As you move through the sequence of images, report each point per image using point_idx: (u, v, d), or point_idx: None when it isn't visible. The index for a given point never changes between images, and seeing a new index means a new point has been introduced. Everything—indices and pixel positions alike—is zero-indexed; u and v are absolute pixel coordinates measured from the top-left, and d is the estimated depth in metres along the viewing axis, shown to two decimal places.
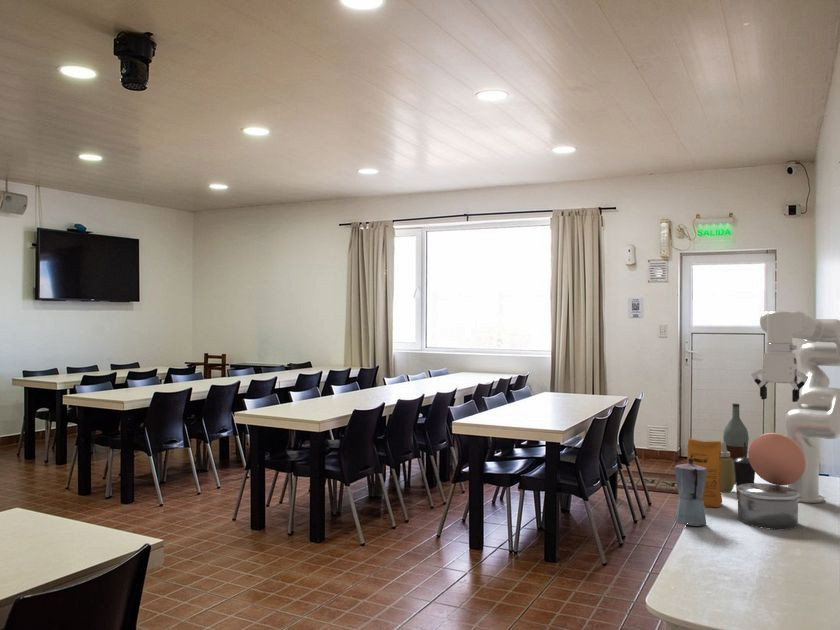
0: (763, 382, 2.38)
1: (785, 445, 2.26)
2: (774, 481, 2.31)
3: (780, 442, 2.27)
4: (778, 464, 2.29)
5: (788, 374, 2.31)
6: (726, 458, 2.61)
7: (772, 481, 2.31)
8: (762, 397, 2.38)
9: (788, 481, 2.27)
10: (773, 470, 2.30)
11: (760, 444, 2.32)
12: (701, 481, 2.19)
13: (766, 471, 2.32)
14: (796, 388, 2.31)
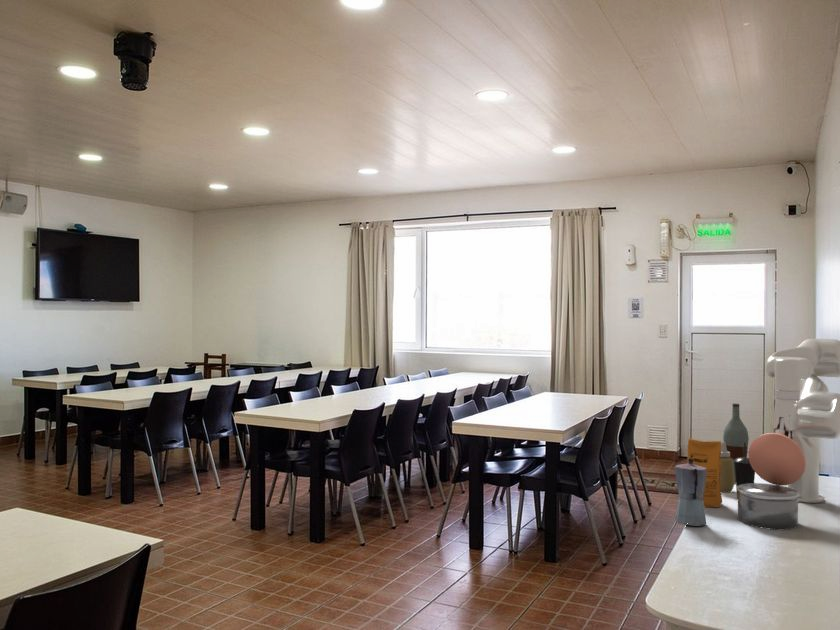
0: (789, 433, 2.34)
1: (785, 445, 2.26)
2: (774, 481, 2.31)
3: (780, 442, 2.27)
4: (778, 464, 2.29)
5: (797, 420, 2.37)
6: (726, 458, 2.61)
7: (772, 481, 2.31)
8: None
9: (788, 481, 2.27)
10: (773, 470, 2.30)
11: (760, 444, 2.32)
12: (701, 481, 2.19)
13: (766, 471, 2.32)
14: (792, 438, 2.36)
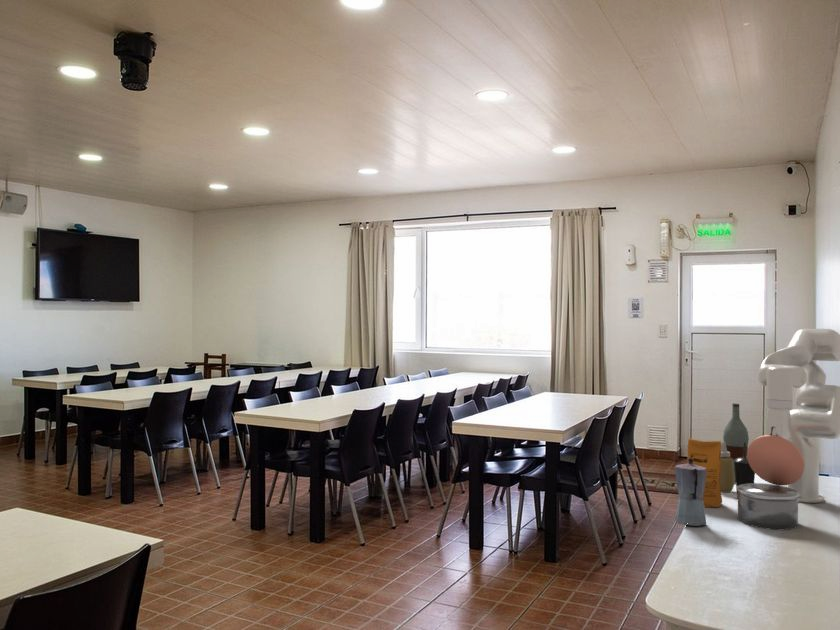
0: None
1: (783, 447, 2.25)
2: (774, 481, 2.31)
3: (778, 444, 2.26)
4: (777, 465, 2.28)
5: (790, 429, 2.32)
6: (726, 458, 2.61)
7: (772, 481, 2.31)
8: None
9: (788, 481, 2.27)
10: (772, 471, 2.30)
11: (758, 446, 2.31)
12: (701, 481, 2.19)
13: (765, 471, 2.32)
14: None
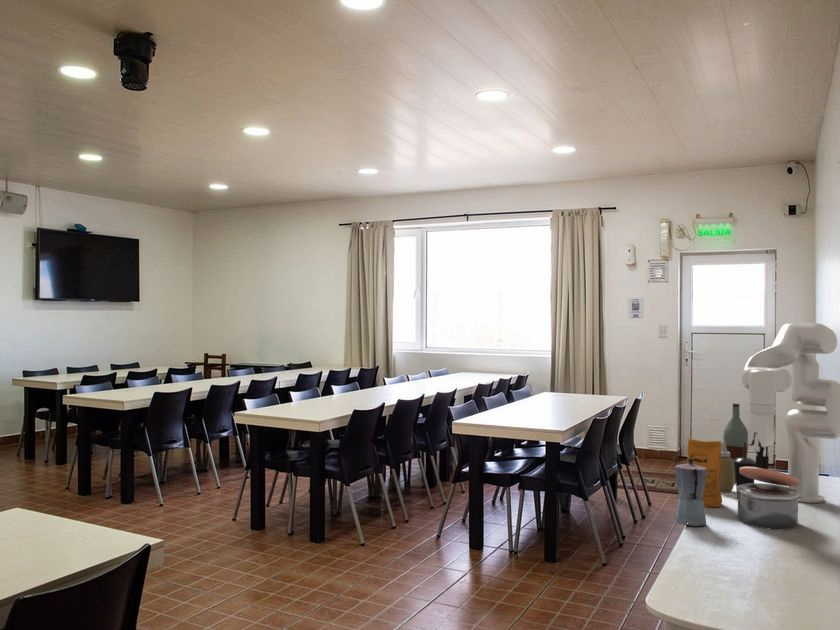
0: (765, 450, 2.19)
1: (773, 476, 2.19)
2: (773, 483, 2.30)
3: (767, 474, 2.19)
4: (772, 479, 2.25)
5: (773, 435, 2.22)
6: (726, 458, 2.61)
7: (771, 483, 2.31)
8: (767, 467, 2.20)
9: (787, 485, 2.26)
10: (769, 480, 2.28)
11: (748, 472, 2.25)
12: (701, 481, 2.19)
13: (762, 480, 2.30)
14: (768, 454, 2.21)
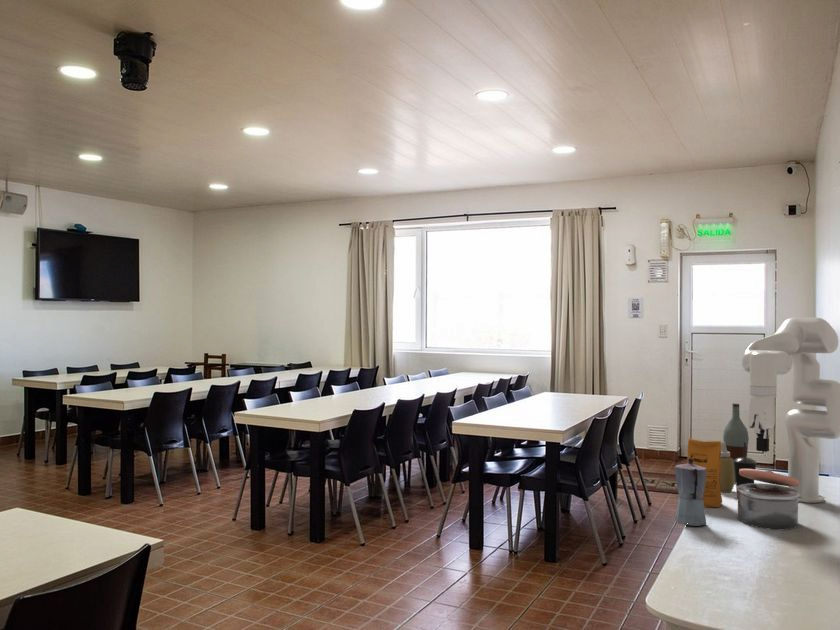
0: (765, 432, 2.19)
1: (773, 477, 2.19)
2: (773, 483, 2.30)
3: (767, 476, 2.19)
4: (772, 480, 2.25)
5: (774, 418, 2.22)
6: (726, 458, 2.61)
7: (771, 483, 2.31)
8: (767, 449, 2.20)
9: (787, 485, 2.26)
10: (769, 481, 2.28)
11: (748, 474, 2.25)
12: (701, 481, 2.19)
13: (762, 480, 2.30)
14: (768, 436, 2.21)
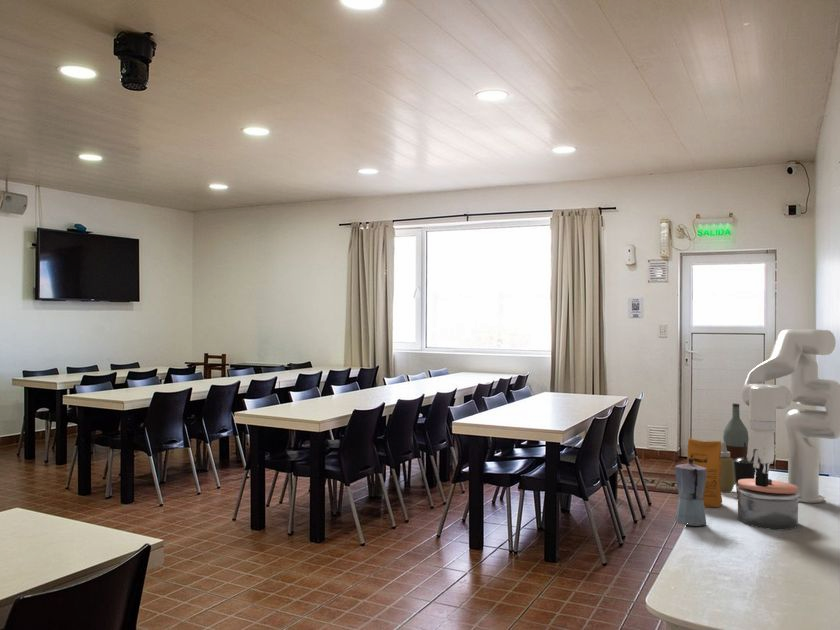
0: (764, 467, 2.19)
1: None
2: None
3: None
4: None
5: (773, 452, 2.22)
6: (726, 458, 2.61)
7: None
8: (766, 484, 2.19)
9: None
10: None
11: None
12: (701, 481, 2.19)
13: None
14: (767, 471, 2.21)
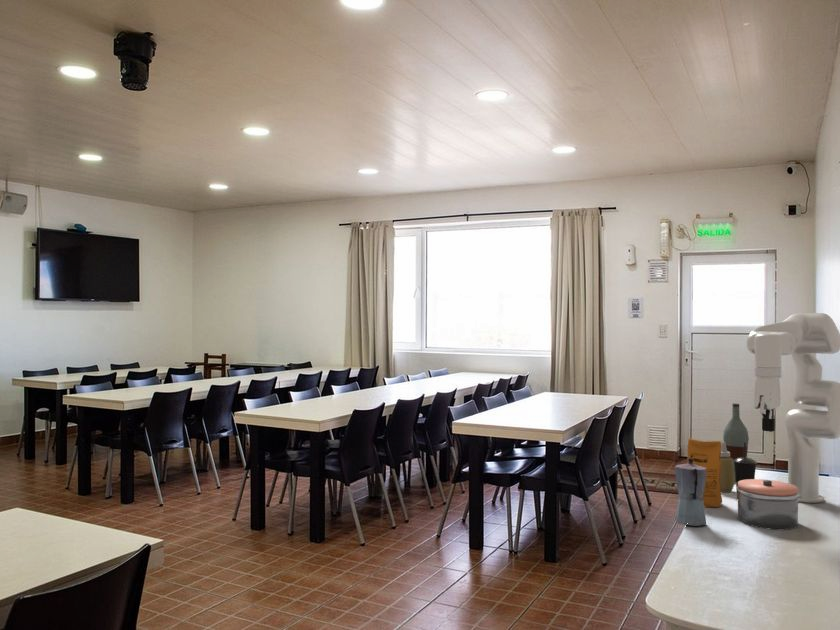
0: (771, 412, 2.23)
1: None
2: None
3: None
4: None
5: (779, 398, 2.25)
6: (726, 458, 2.61)
7: None
8: (773, 429, 2.23)
9: None
10: None
11: None
12: (701, 481, 2.19)
13: None
14: (773, 416, 2.25)
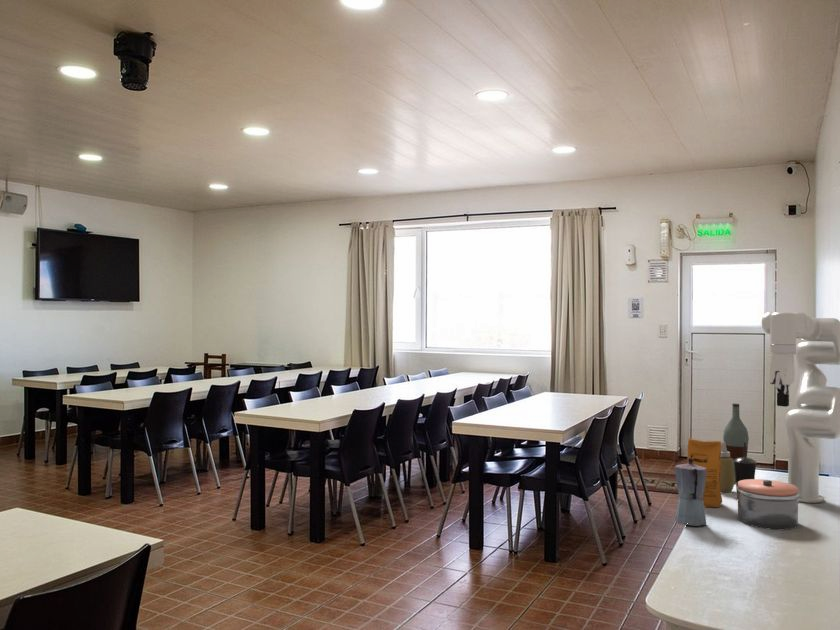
0: (785, 388, 2.32)
1: None
2: None
3: None
4: None
5: (793, 375, 2.35)
6: (726, 458, 2.61)
7: None
8: (787, 404, 2.32)
9: None
10: None
11: None
12: (700, 481, 2.19)
13: None
14: (788, 392, 2.34)
